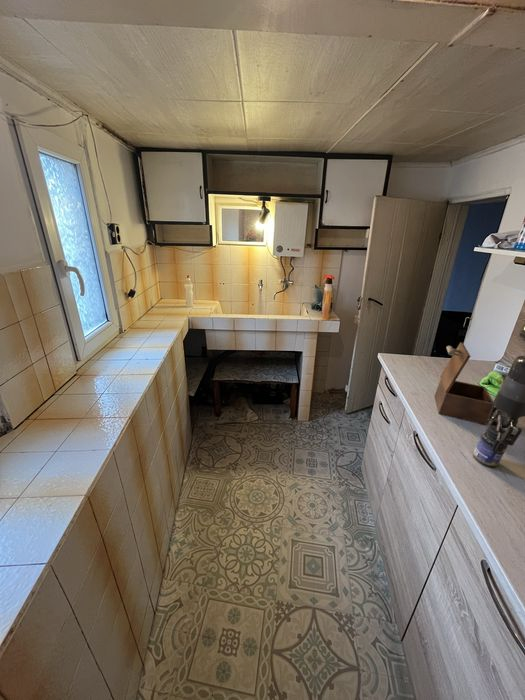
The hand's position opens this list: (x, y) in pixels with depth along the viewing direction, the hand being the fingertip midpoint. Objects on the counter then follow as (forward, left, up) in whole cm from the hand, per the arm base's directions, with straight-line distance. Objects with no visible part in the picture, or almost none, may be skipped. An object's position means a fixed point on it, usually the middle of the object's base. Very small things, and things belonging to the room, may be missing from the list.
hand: (492, 442), depth 81 cm
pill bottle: (0, 0, -7) cm, 7 cm away
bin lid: (+8, -26, +10) cm, 29 cm away
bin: (+2, -26, -7) cm, 27 cm away
